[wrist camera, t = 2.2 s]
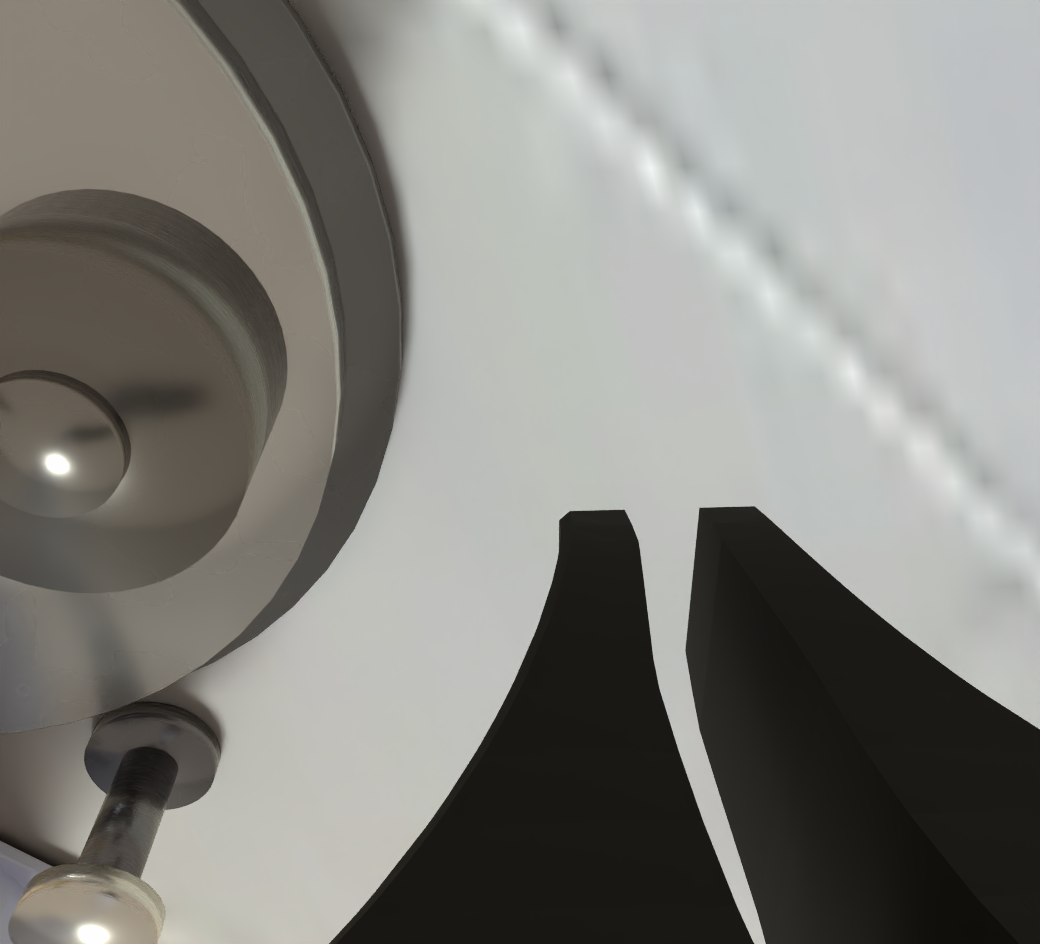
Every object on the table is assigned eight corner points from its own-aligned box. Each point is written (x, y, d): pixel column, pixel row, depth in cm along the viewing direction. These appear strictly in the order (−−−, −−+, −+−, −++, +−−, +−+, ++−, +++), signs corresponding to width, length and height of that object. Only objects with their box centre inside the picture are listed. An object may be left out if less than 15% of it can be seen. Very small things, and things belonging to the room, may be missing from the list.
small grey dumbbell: (173, 808, 26) (107, 1001, 21) (68, 751, 25) (-27, 942, 20) (245, 745, 25) (191, 934, 20) (138, 682, 24) (55, 867, 19)
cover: (168, 539, 19) (105, 665, 16) (-107, 356, 17) (-242, 459, 14) (352, 346, 17) (322, 446, 14) (67, 111, 15) (-44, 166, 12)
